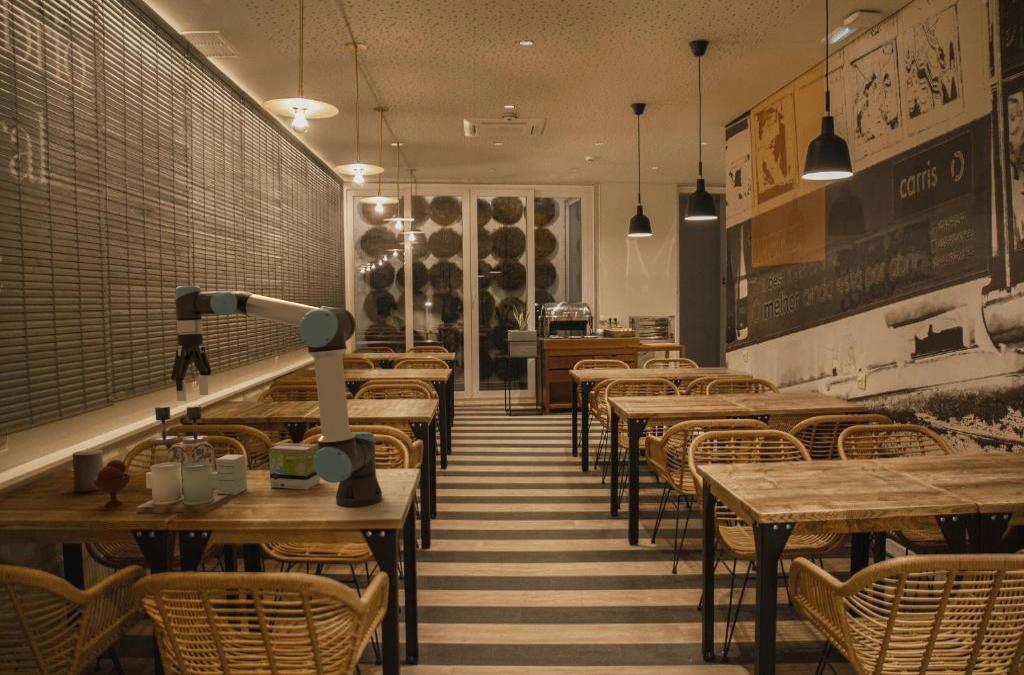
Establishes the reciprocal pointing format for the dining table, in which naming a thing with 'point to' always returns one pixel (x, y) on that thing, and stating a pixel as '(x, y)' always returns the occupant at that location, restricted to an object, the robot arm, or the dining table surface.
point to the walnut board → (182, 506)
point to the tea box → (293, 466)
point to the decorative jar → (191, 454)
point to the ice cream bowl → (112, 480)
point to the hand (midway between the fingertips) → (193, 397)
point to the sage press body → (199, 483)
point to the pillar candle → (86, 469)
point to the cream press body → (165, 483)
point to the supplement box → (231, 474)
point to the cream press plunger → (163, 425)
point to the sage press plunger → (194, 425)
